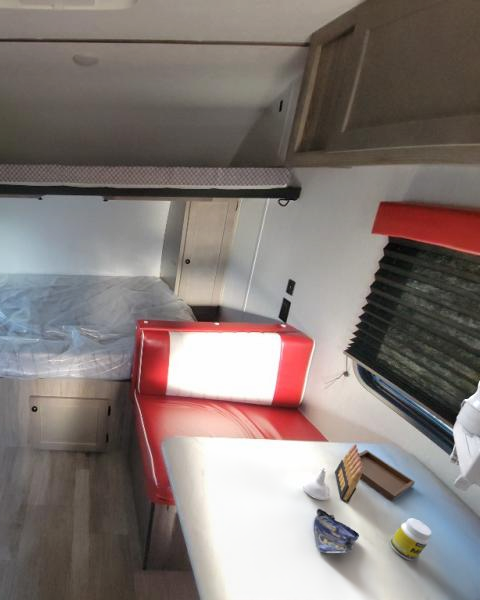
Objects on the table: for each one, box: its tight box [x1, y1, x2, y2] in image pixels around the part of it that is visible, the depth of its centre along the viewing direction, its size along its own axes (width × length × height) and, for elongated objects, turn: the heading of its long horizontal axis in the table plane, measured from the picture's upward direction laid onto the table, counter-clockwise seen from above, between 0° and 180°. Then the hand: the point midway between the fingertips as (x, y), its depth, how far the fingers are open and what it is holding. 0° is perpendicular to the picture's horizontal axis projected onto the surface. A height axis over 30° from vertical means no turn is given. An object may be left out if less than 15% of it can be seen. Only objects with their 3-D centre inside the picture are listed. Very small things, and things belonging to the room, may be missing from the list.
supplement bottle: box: [389, 517, 432, 561], centre depth 77 cm, size 5×5×8 cm
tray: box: [358, 449, 416, 502], centre depth 98 cm, size 12×12×2 cm
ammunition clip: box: [334, 444, 363, 504], centre depth 92 cm, size 11×2×12 cm, turn 150°
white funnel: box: [301, 467, 331, 501], centre depth 90 cm, size 6×6×8 cm
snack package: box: [313, 508, 360, 554], centre depth 79 cm, size 12×6×12 cm
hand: (456, 473), depth 73 cm, fingers open, 8 cm apart
